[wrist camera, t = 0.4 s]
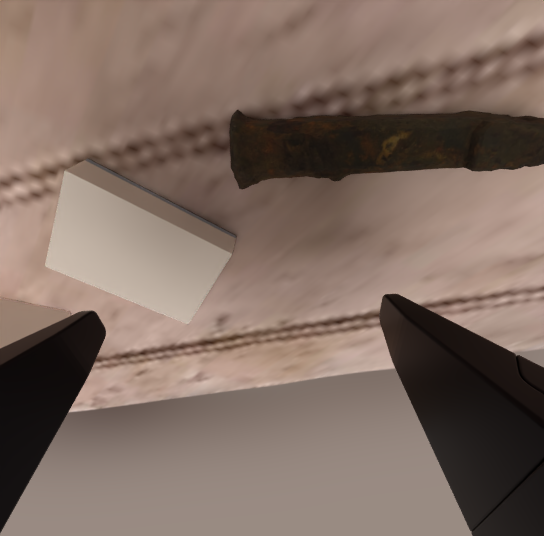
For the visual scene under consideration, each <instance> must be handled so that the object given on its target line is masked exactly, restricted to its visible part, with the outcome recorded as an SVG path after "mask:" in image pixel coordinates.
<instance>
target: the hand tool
mask: <svg viewBox="0 0 544 536" xmlns="http://www.w3.org/2000/svg"><path fill="white" fill-rule="evenodd" d="M230 154H231V169H232V171H233V173H234V176H235V179H236V181H237V183H238V186H239V189H245V188H247V187H249V186H251V185H254V184H257V183H259V182H260V181H262V180H267V179H270V178H292V177H304V176H308V177H315V178H321V177H322V178H329V179H331V180H332V181H339V180H341V179H343V178H344V177H345V176H347V175H350V174H360V173H381V172H394V171H412V170H423V169H439V168H462V167H463V168H467V169H469V170H471V171H493V170H497V169H509V170H514V169H518V168H522V167H524V166H528V167H532V166H539V165H541V164H544V118H536V117H532V116H522V117H511V116H509V115H498V114H491V113H483V112H473V111H465V112H460V113H456V114H407V115H373V116H355V117H345V116H337V117H336V116H311V117H296V118H293V119H277V120H265V119H263V120H255V119H251V118H248V117H246V116H245V115H244V114H242V113H241V112H240V111H239V110H237V111H236V112H235V113H234V114H233V116H232V119H231V124H230Z"/></svg>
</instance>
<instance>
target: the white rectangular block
mask: <svg viewBox="0 0 544 536" xmlns="http://www.w3.org/2000/svg"><path fill="white" fill-rule="evenodd" d="M69 316H71V313H70V311H65V310H60V309H55V308H50V307H45V306H41V305H36V304H31V303H26V302H21V301H16V300H11V299H6V298H1V297H0V348H2V347H4V346H7V345H9V344H11V343H13V342H15V341H17V340H20V339H22V338H24V337H26V336H28V335H30V334H33V333H35V332H37V331H39V330H41V329H43V328H46V327H48V326H50V325H52V324H54V323H56V322H59V321H61V320H63V319H65V318H67V317H69Z"/></svg>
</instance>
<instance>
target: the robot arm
mask: <svg viewBox="0 0 544 536" xmlns="http://www.w3.org/2000/svg"><path fill="white" fill-rule="evenodd" d="M379 318H380V324H381V327H382V330H383V333H384V336H385V340H386V343H387V346H388V349H389V352H390V355H391V358H392V361H393V364H394V366H395V368H396V371H397V373H398V375H399V377H400V379H401V381H402V384H403V386H404V388H405V390H406V392H407V394H408V397H409V399H410V401H411V403H412V405H413V408H414V410H415V412H416V414H417V416H418V418H419V421H420V423H421V425H422V427H423V429H424V431H425V433H426V436H427V438H428V440H429V442H430V444H431V447H432V449H433V451H434V453H435V455H436V457H437V460H438V462H439V464H440V466H441V468H442V470H443V472H444V475H445V477H446V479H447V481H448V483H449V486H450V488H451V490H452V492H453V494H454V496H455V498H456V501H457V503H458V505H459V507H460V509H461V511H462V514H463V516H464V518H465V520H466V522H467V525H468V527H469V529H470V531H472V535H473V536H544V367H541V366H539V365H537V364H535V363H533V362H531V361H530V360H527V359H526V358H524V357H522V356H520V355H517V356H516V355H515V353H513V352H511V351H509V350H507V349H505V348H503V347H501V346H499V345H497V344H495V343H493V342H491V341H489V340H487V339H485V338H483V337H481V336H479V335H477V334H475V333H473V332H471V331H469V330H467V329H466V328H464V327H462V326H460V325H458V324H456V323H454V322H452V321H450V320H448V319H446V318H444V317H442V316H440V315H438V314H436V313H434V312H432V311H430V310H428V309H426V308H424V307H422V306H420V305H418V304H416V303H414V302H412V301H410V300H408V299H406V298H404V297H403V296H401V295H399V294H385V295H384V296H383V298H382V303H381V309H380V315H379ZM105 336H106V330H105V327H104V325H103V323H102V322H101V320H100V318H99V316H98V315H97V313H96V312H95V311H81V312H78V313H76V314H74V315H72V316H69V317H67V318H65V319H63V320H61V321H59V322H56V323H54V324H52V325H50V326H48V327H46V328H43V329H41V330H39V331H37V332H35V333H33V334H30V335H28V336H26V337H24V338H22V339H20V340H17V341H15V342H13V343H11V344H9V345H7V346H4V347H2V348H0V533H1V531H2V529H3V527H4V526H5V524H6V522H7V520H8V519H9V517H10V515H11V513H12V511H13V510H14V508H15V506H16V504H17V502H18V501H19V499H20V497H21V495H22V494H23V492H24V490H25V488H26V486H27V485H28V483H29V481H30V479H31V478H32V476H33V474H34V472H35V470H36V469H37V467H38V465H39V463H40V461H41V459H42V458H43V456H44V454H45V452H46V451H47V449H48V447H49V445H50V443H51V442H52V440H53V438H54V437H55V435H56V433H57V431H58V429H59V428H60V426H61V424H62V422H63V421H64V419H65V417H66V415H67V413H68V412H69V410H70V408H71V406H72V404H73V403H74V401H75V399H76V397H77V396H78V394H79V392H80V390H81V388H82V387H83V385H84V383H85V381H86V379H87V377H88V376H89V373H90V371H91V369H92V367H93V364H94V362H95V360H96V357H97V355H98V353H99V350H100V348H101V346H102V343H103V341H104V339H105Z"/></svg>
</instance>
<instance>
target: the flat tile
mask: <svg viewBox="0 0 544 536" xmlns="http://www.w3.org/2000/svg"><path fill="white" fill-rule="evenodd" d="M235 241H236V236H235V235H233V234H231V233H230V232H228V231H226V230H224V229H222V228H220V227H218V226H216V225H214V224H212V223H210V222H208V221H207V220H205V219H203V218H201V217H199V216H197V215H195V214H193V213H191V212H189V211H187V210H185V209H184V208H182V207H180V206H178V205H176V204H174V203H172V202H170V201H168V200H166V199H164V198H162V197H161V196H159V195H157V194H155V193H153V192H151V191H149V190H147V189H145V188H143V187H141V186H139V185H138V184H136V183H134V182H132V181H130V180H128V179H126V178H124V177H122V176H120V175H118V174H116V173H115V172H113V171H111V170H109V169H107V168H105V167H103V166H101V165H99V164H97V163H95V162H93V161H92V160H90V159H86V160H84V161H82V162H80V163H78V164H76V165H74V166H72V167H70V168H68V169H66V170H65V172H64V176H63V181H62V186H61V191H60V196H59V201H58V205H57V210H56V215H55V220H54V225H53V230H52V234H51V239H50V244H49V249H48V254H47V258H46V263H45V267H47V268H50V269H52V270H55V271H57V272H60V273H62V274H65V275H67V276H70V277H72V278H74V279H77V280H79V281H82V282H84V283H87V284H89V285H92V286H94V287H97V288H99V289H101V290H104V291H106V292H109V293H111V294H114V295H116V296H119V297H121V298H124V299H126V300H128V301H131V302H133V303H136V304H138V305H141V306H143V307H146V308H148V309H151V310H153V311H155V312H158V313H160V314H163V315H165V316H168V317H170V318H173V319H175V320H178V321H180V322H182V323H185V324H187V325H188V324H189V323H190V321H191V320H192V318H193V316H194V315H195V313H196V312H197V310H198V308H199V307H200V305H201V304H202V302H203V300H204V299H205V297H206V295H207V294H208V292H209V291H210V289H211V287H212V286H213V284H214V283H215V281H216V279H217V278H218V276H219V275H220V273H221V271H222V270H223V268H224V267H225V265H226V263H227V262H228V260H229V259H230V257H231V255H232V253H233V249H234V245H235Z"/></svg>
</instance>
